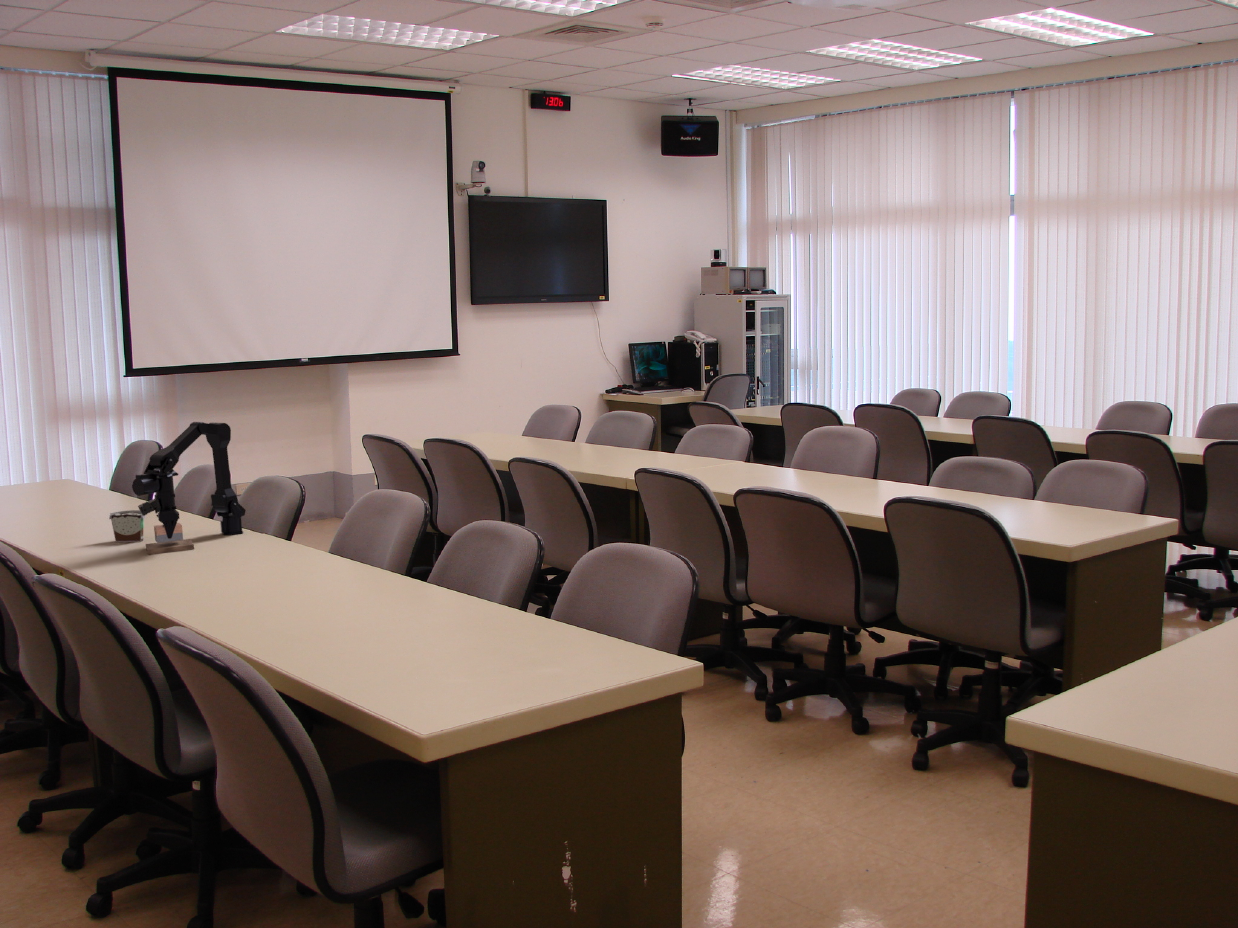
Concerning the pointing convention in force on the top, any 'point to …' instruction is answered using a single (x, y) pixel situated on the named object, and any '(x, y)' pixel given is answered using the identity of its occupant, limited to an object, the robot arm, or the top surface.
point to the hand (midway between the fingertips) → (169, 537)
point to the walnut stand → (169, 546)
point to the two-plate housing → (162, 536)
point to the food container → (127, 526)
